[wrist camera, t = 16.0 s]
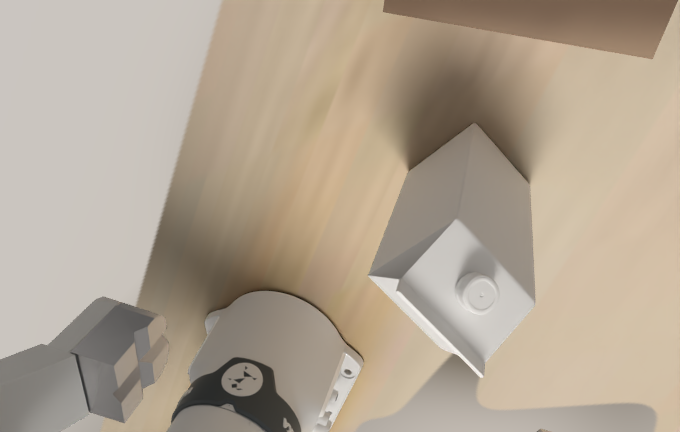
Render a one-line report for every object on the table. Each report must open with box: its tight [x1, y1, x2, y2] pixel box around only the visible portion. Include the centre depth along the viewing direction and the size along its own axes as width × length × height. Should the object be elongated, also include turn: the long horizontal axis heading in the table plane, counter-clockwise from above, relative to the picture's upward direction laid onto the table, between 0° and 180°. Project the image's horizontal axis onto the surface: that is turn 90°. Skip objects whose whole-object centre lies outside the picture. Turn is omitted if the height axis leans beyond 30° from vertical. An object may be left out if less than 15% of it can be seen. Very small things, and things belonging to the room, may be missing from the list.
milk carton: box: [368, 123, 535, 378], centre depth 36 cm, size 7×7×19 cm
